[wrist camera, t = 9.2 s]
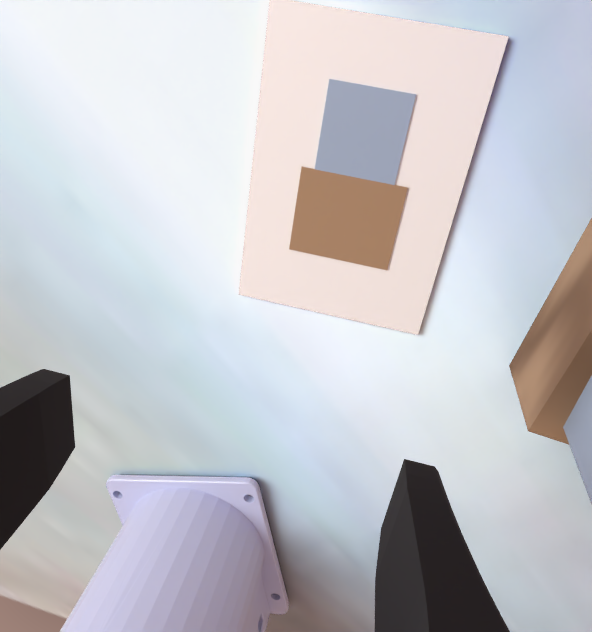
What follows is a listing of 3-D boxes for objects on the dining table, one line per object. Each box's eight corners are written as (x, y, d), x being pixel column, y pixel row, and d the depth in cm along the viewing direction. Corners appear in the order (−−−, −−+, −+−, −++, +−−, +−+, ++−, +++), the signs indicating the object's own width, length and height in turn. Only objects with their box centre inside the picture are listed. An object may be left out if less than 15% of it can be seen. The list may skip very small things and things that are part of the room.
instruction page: (417, 332, 20) (418, 335, 20) (239, 292, 21) (238, 295, 21) (507, 36, 15) (509, 36, 15) (271, -3, 16) (269, -3, 16)
